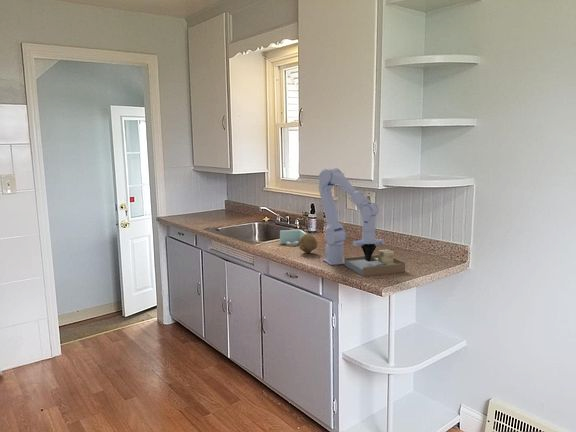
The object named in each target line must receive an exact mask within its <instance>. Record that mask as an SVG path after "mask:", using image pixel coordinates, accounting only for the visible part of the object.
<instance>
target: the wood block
mask: <svg viewBox="0 0 576 432" xmlns="http://www.w3.org/2000/svg"><path fill="white" fill-rule="evenodd" d="M377 253H378V261H379V262H381V263H383V264H386V263H393V262H394V257H395V252H394V251H393V250H390V249H380V250H377Z"/></svg>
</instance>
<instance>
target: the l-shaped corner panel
mask: <svg viewBox="0 0 576 432" xmlns="http://www.w3.org/2000/svg"><path fill="white" fill-rule="evenodd" d="M305 234H308V233H307V232H305V231H303V230H302V229H290V230H288V229H287V230H279V244H282V245H284V244H285V246H288V247H296V246H299V244H300V240H301V237H302V236H303V235H305Z"/></svg>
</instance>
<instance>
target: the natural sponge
mask: <svg viewBox="0 0 576 432" xmlns="http://www.w3.org/2000/svg"><path fill="white" fill-rule="evenodd" d="M298 246H299V250H301V251H302V252H304V253H306V254H310V253H311V252H313V251H314V250H316V249H317V247H318V242H317V239H316V237H315V236H314V235H313V234H311V233H307V234H305V235H303V236H302V237H301V240H300V243H299V244H298Z"/></svg>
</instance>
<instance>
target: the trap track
mask: <svg viewBox="0 0 576 432" xmlns="http://www.w3.org/2000/svg"><path fill="white" fill-rule="evenodd" d="M343 261H344V264H343V265H344V266H345V267H346V268H348V269H350V270H352V271H354V272H355V273H358V274H359V275H360V276H363V277H371V276H377V275H378V276H379V275H380V276H381V275H388V274H389V275H390V274H397V273H405V272H406V261H404V260H401V259H399V258H397V257H395V256H394V262H393V263H386V264H383V263H381V262H379V261H378V254H372V257H371V260H370V261H366V259H365V255H354V256H345V257H344V260H343Z"/></svg>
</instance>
